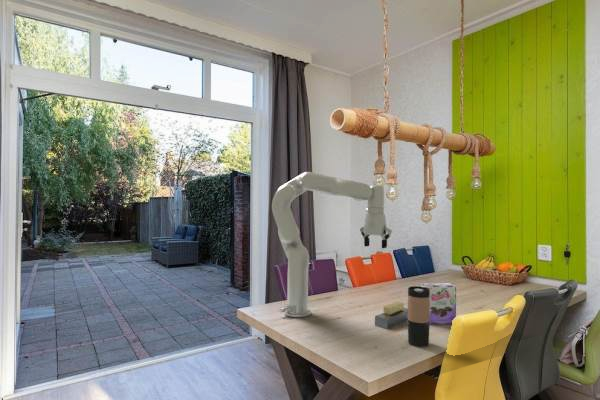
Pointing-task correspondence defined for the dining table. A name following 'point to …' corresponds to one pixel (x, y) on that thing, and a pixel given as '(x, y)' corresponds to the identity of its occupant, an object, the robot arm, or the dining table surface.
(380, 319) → the grey cinder block
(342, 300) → the dining table surface
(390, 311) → the khaki arch block
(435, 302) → the candy box
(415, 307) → the travel mug
